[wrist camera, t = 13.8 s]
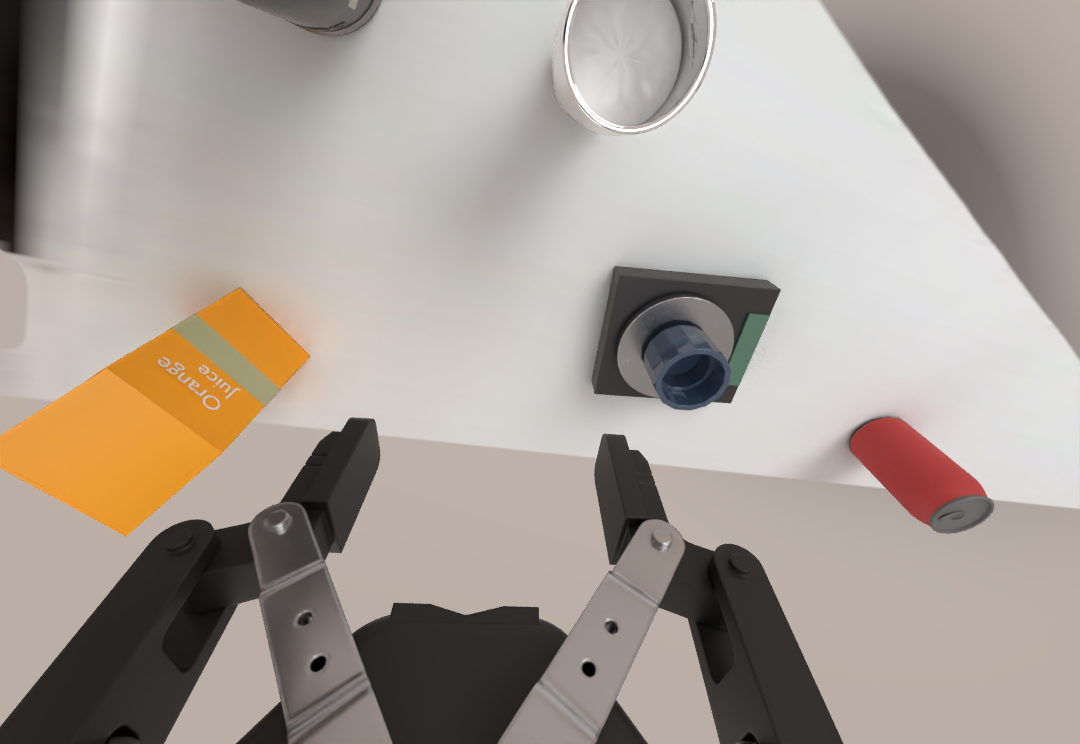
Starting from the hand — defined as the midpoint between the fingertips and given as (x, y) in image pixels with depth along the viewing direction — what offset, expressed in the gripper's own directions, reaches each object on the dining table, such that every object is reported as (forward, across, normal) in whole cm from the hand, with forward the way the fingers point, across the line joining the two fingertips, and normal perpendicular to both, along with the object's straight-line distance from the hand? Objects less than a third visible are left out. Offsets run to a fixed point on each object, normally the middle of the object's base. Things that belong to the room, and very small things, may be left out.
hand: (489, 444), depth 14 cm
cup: (+22, -16, +8) cm, 28 cm away
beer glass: (+26, -5, -13) cm, 30 cm away
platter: (+23, -16, +8) cm, 29 cm away
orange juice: (+26, +26, +12) cm, 39 cm away
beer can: (+26, -46, +19) cm, 56 cm away
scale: (+26, -17, +8) cm, 32 cm away
